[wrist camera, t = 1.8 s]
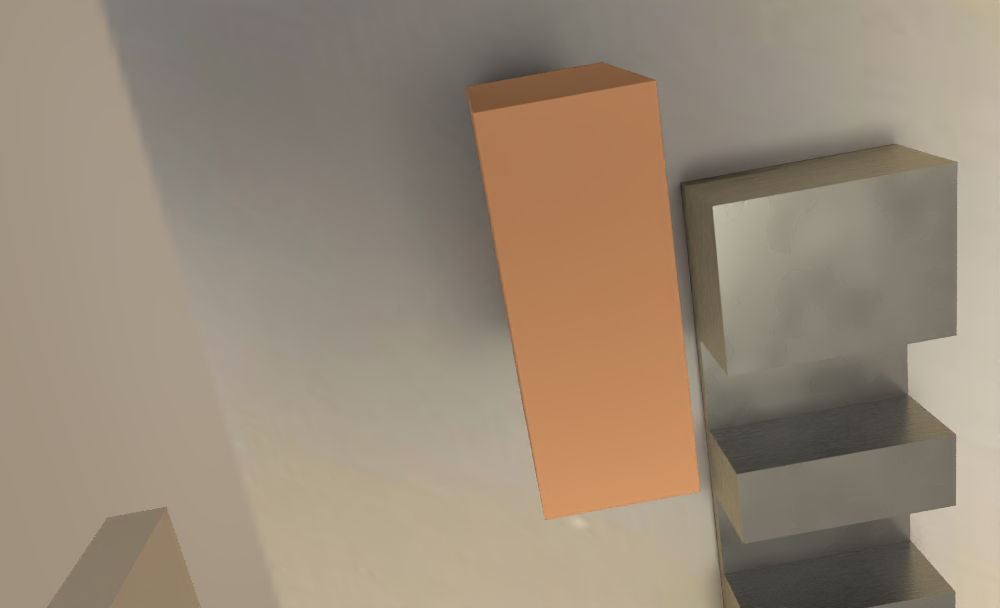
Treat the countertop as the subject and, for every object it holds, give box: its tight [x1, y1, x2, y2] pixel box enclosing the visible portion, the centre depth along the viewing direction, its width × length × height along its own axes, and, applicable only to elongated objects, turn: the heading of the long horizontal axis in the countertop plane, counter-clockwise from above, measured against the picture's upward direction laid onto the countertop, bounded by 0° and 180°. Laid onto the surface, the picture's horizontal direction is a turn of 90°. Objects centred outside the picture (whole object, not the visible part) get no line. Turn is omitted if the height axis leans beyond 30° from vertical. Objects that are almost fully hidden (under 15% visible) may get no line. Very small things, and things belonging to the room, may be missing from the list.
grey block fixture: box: [681, 144, 957, 608], centre depth 29 cm, size 20×7×4 cm, turn 10°
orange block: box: [466, 62, 700, 520], centre depth 23 cm, size 9×4×10 cm, turn 10°
